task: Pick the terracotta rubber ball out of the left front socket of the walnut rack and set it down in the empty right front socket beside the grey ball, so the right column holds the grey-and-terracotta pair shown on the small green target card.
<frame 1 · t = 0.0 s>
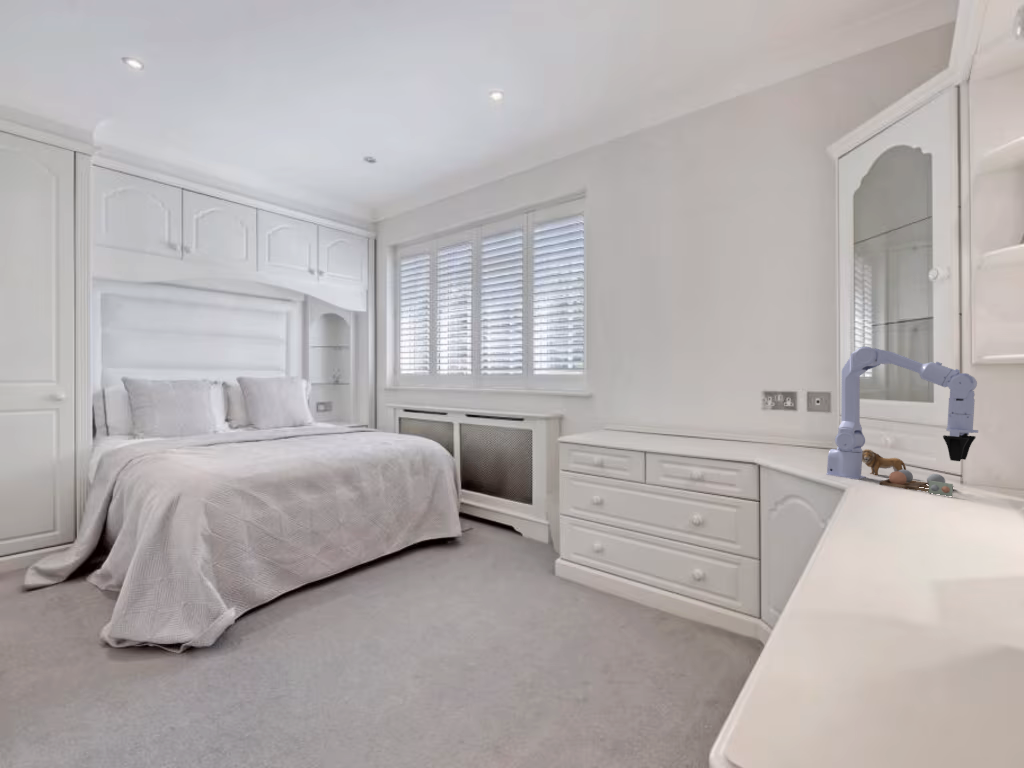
hand: (958, 459, 151), 10 cm above the table, tool pointing down, fingers open, 7 cm apart
target card: (940, 496, 146), on the table
walnut rack: (916, 487, 158), on the table
terracotta ball: (897, 485, 159), resting on walnut rack
lion figurine: (883, 477, 177), on the table
grey ball right: (935, 488, 157), resting on walnut rack
grey ball left: (903, 483, 164), resting on walnut rack
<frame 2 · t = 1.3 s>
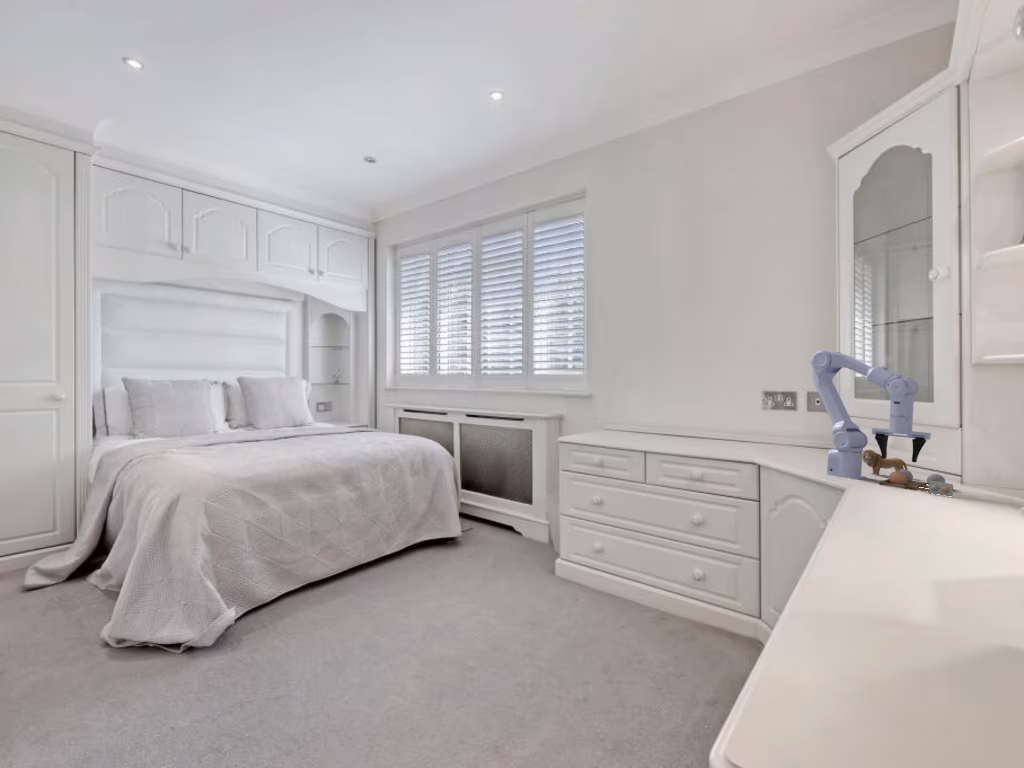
hand: (898, 460, 159), 8 cm above the table, tool pointing down, fingers open, 7 cm apart
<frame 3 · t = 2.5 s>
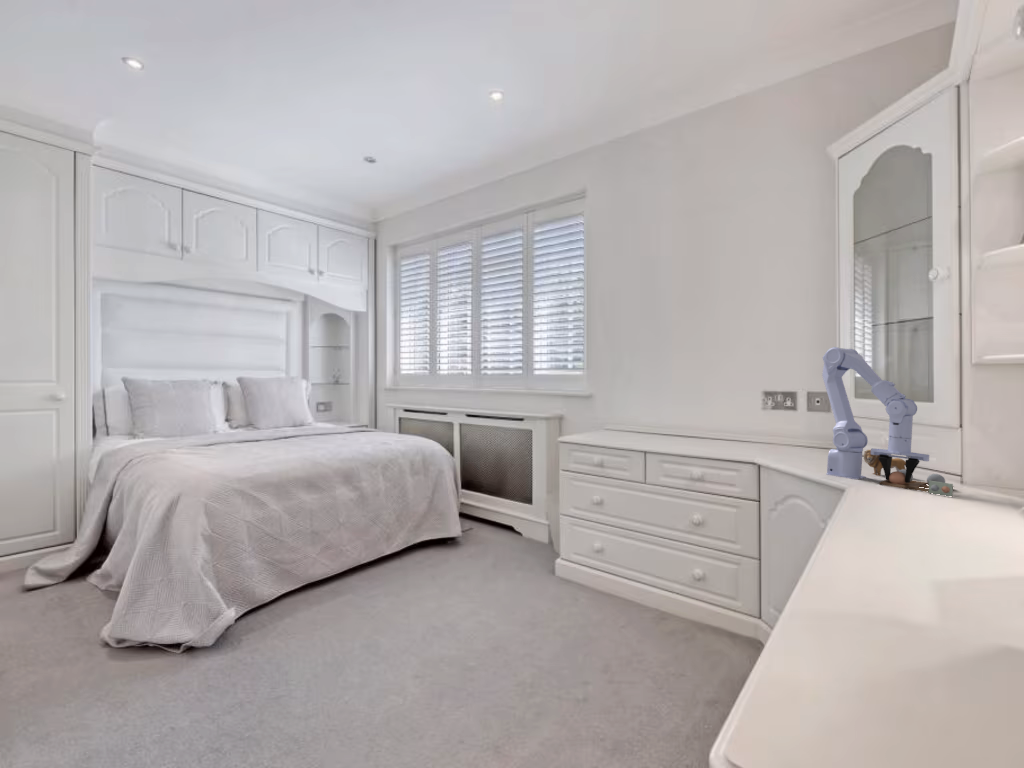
hand: (897, 480, 159), 2 cm above the table, tool pointing down, fingers closed on terracotta ball, 4 cm apart
terracotta ball: (897, 485, 159), resting on walnut rack, touching gripper
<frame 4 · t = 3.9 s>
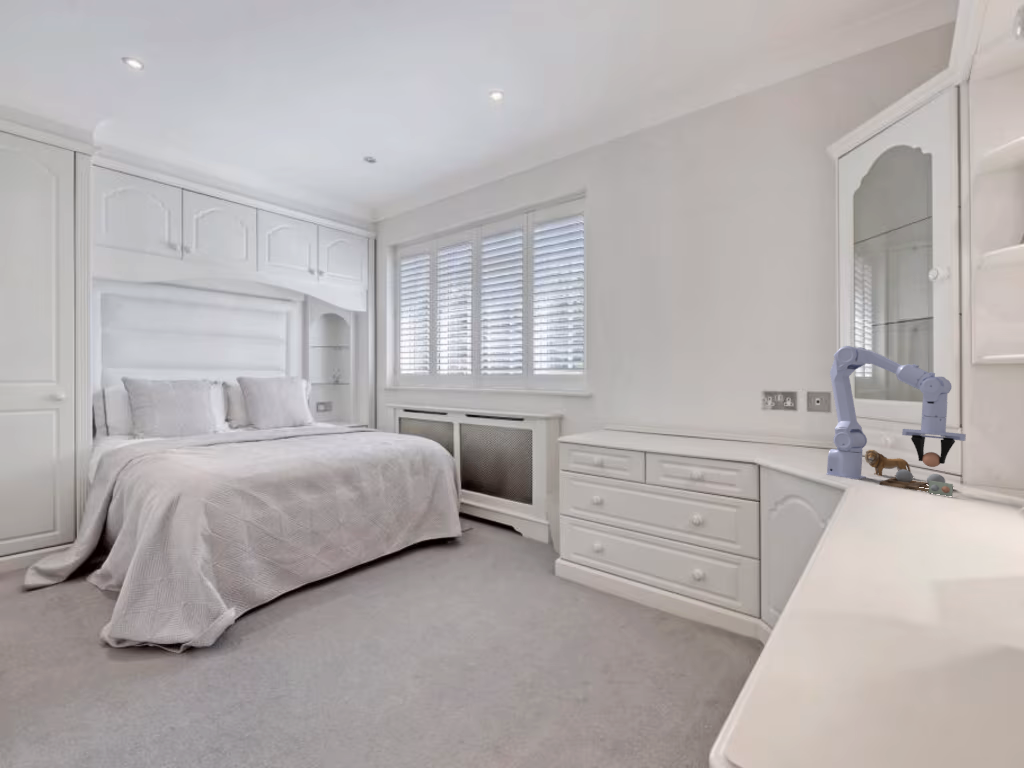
hand: (931, 462, 153), 9 cm above the table, tool pointing down, fingers closed on terracotta ball, 4 cm apart
terracotta ball: (931, 466, 153), point 7 cm above the table, touching gripper
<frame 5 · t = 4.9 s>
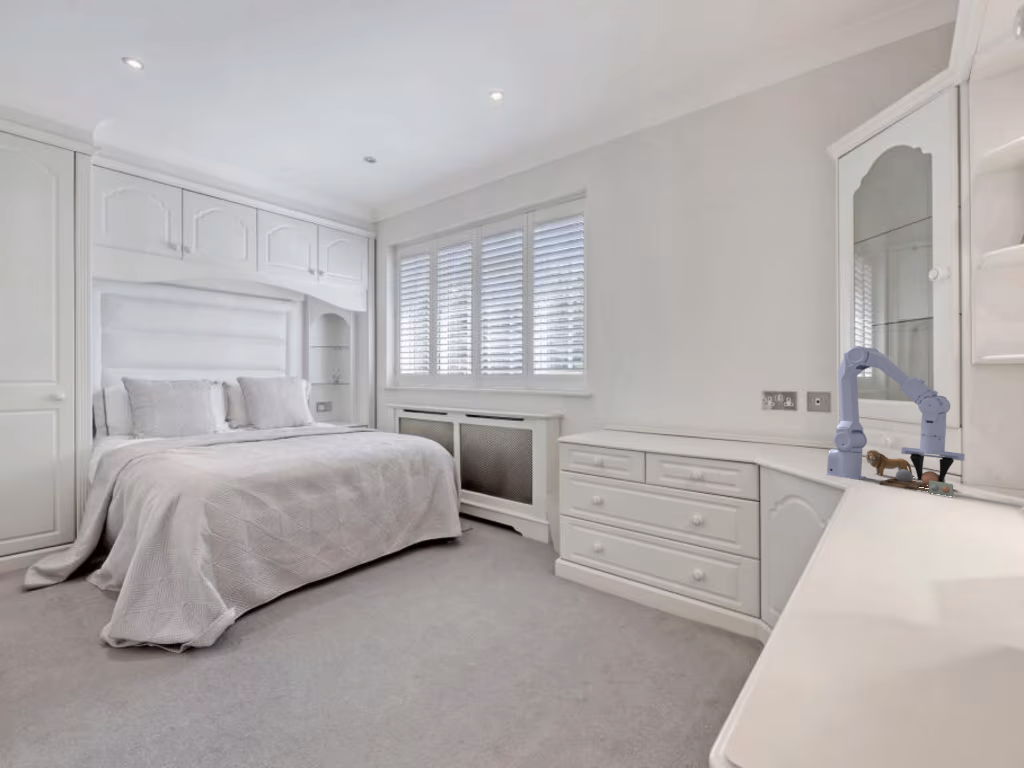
hand: (930, 481, 153), 3 cm above the table, tool pointing down, fingers closed on terracotta ball, 4 cm apart
terracotta ball: (930, 486, 153), point 2 cm above the table, touching gripper
when the fingers open (3 cm above the table, at t = 5.4 s): terracotta ball drops 1 cm, resting on walnut rack.
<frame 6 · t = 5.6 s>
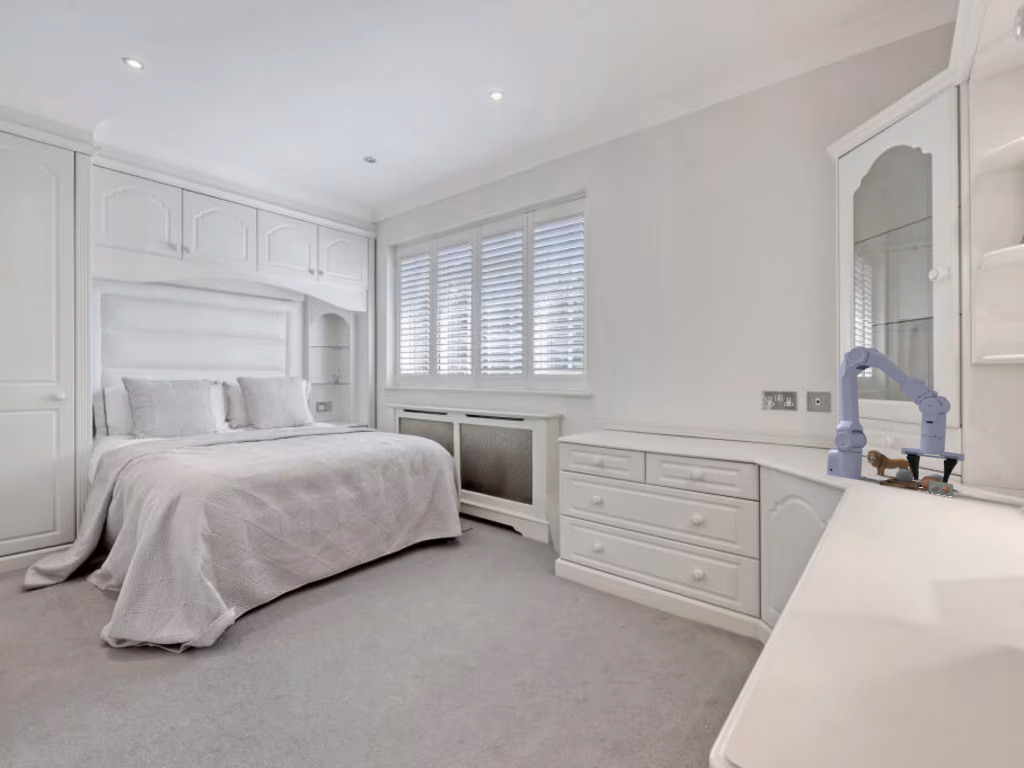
hand: (930, 481, 153), 3 cm above the table, tool pointing down, fingers open, 6 cm apart
terracotta ball: (930, 490, 153), resting on walnut rack
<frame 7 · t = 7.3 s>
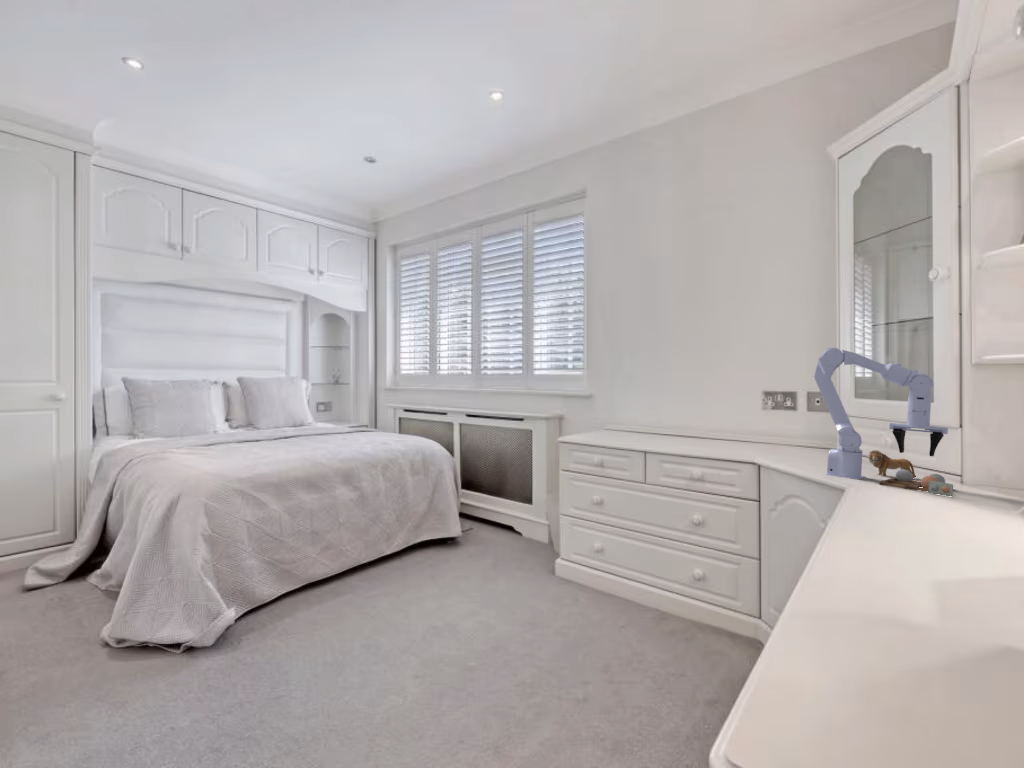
hand: (916, 454, 162), 10 cm above the table, tool pointing down, fingers open, 7 cm apart
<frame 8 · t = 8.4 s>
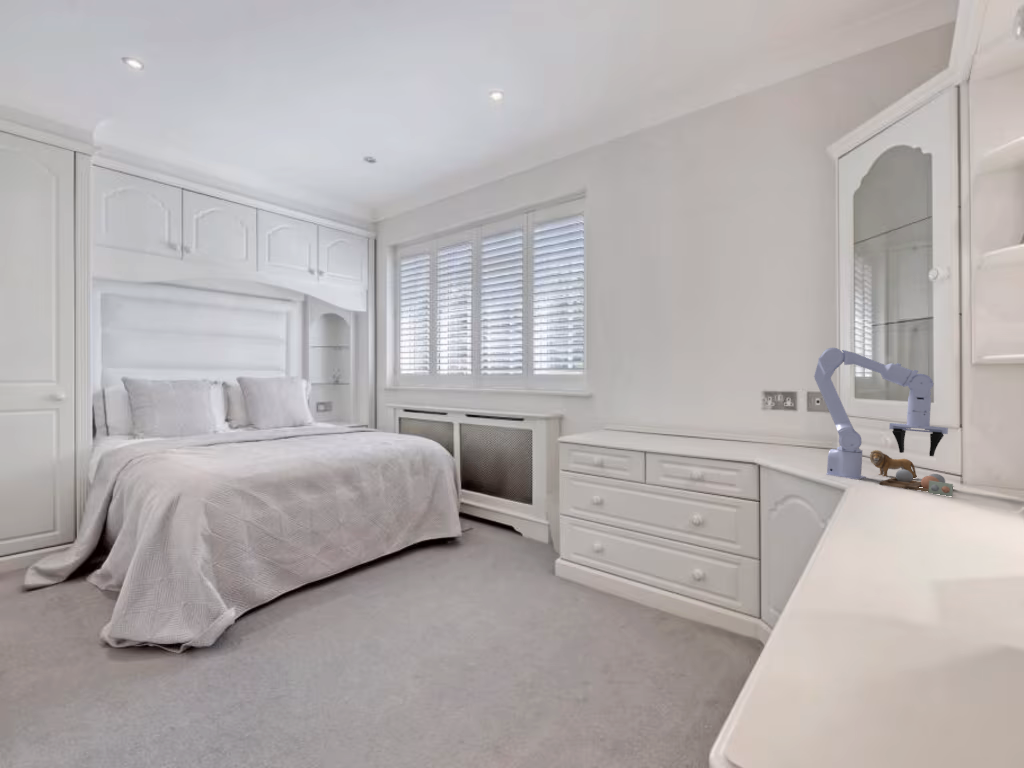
hand: (916, 454, 162), 10 cm above the table, tool pointing down, fingers open, 7 cm apart
at the end: terracotta ball 0.1 cm from the target spot on the walnut rack, point 0.3 cm above the walnut rack's base; the gripper is holding nothing; grey ball right moved 0.0 cm from its start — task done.
